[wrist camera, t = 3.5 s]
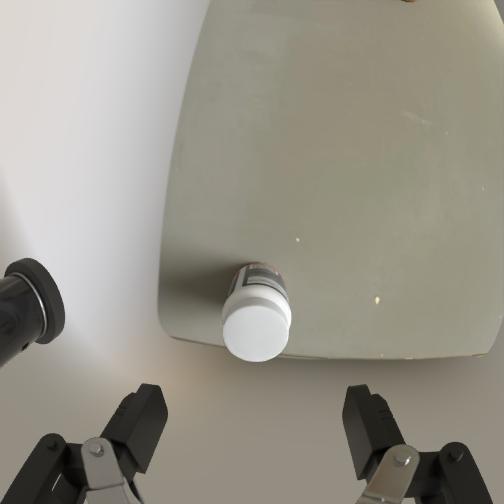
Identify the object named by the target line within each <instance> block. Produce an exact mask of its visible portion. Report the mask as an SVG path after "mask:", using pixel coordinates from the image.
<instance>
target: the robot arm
mask: <svg viewBox="0 0 504 504" xmlns="http://www.w3.org/2000/svg"><path fill="white" fill-rule="evenodd" d="M48 324H49V320H48V313H47V308H46V305H45V302H44V300H43V297H42V295H41V293H40V291H39V290H38V288H37V286H36V285H35V284H34V282H33V281H32V280H31V279H30V278H29V277H28V276H27V275H26V274H24V273H22V272H14V273H12V274H10V275H9V276H7V277H5V278H3V279H0V369H1V368H2V367H3V366H4V365H5V364H7V363H8V362H9V361H10V360H11V359H13V358H14V357H15V356H16V355H18V354H19V353H20V352H21V351H23V350H24V349H25V348H27V347H28V346H29V345H30V344H32V343H33V342H34V341H36V340H37V339H38V338H41V337H42V336H43V335H45V334H46V332H47V330H48ZM342 417H343V418H342V419H343V425H344V428H345V432H346V436H347V440H348V444H349V448H350V452H351V456H352V459H353V463H354V468H355V472H356V476H357V480H362V479H366V481H367V486H366V488H365V489H364V491H363V493H362V494H361V496H360V497H359V499H358V500H357V502H356V503H355V504H401V502H402V500H403V498H412V497H414V499H415V502H416V504H493V502H492V500H491V497H490V495H489V492H488V490H487V487H486V485H485V483H484V481H483V478H482V476H481V474H480V472H479V469H478V467H477V465H476V463H475V461H474V459H473V457H472V455H471V453H470V451H469V449H468V448H467V446H466V445H464V444H462V443H460V442H451V443H448V444H446V445H445V446H444V447H443V448H442V449H441V450H440V451H438V452H418V451H417V450H416V449H415V448H413V447H412V446H409V445H406V443H405V441H404V439H403V437H402V435H401V433H400V430H399V428H398V426H397V424H396V421H395V419H394V418H393V415H392V413H391V411H390V408H389V406H388V404H387V402H386V400H384V399H383V398H382V397H381V396H380V395H379V394H373V395H371V393H370V391H369V389H368V387H367V385H366V384H363V385H356V386H349V387H348V389H347V393H346V398H345V402H344V407H343V413H342ZM167 418H168V410H167V406H166V403H165V400H164V397H163V394H162V391H161V388H160V386H158V385H151V384H141V386H140V387H139V389H138V391H137V392H136V393H133V392H132V393H131V394H129V395H128V396H126V397H125V398H124V399H123V400H122V402H121V404H120V405H119V408H117V410H116V412H115V414H114V415H113V416H112V418H111V419H110V421H109V422H108V424H107V426H106V427H105V429H104V431H103V432H102V434H101V435H100V437H94V438H91V439H89V440H87V441H85V442H84V444H75V443H66V441H65V440H64V439H63V437H62V436H60V435H59V434H55V433H51V434H47V435H45V436H43V437H42V438H41V439H40V441H39V442H38V444H37V445H36V447H35V448H34V450H33V451H32V453H31V454H30V456H29V457H28V459H27V461H26V462H25V463H24V465H23V467H22V468H21V470H20V471H19V473H18V474H17V476H16V478H15V479H14V481H13V483H12V484H11V486H10V488H9V489H8V491H7V493H6V494H5V496H4V498H3V500H2V501H1V503H0V504H83V503H84V501H85V498H87V501H88V504H146V502H145V500H144V498H143V496H142V494H141V492H140V489H139V487H138V485H137V483H136V480H135V479H134V475H135V473H136V472H139V473H143V474H145V473H146V471H147V468H148V466H149V463H150V461H151V458H152V456H153V454H154V451H155V448H156V446H157V444H158V441H159V439H160V436H161V434H162V432H163V429H164V427H165V424H166V422H167ZM60 474H61V476H60V478H59V480H58V481H57V483H56V485H55V487H54V489H53V491H52V488H53V486H54V484H55V482H56V480H57V478H58V476H59V475H60Z"/></svg>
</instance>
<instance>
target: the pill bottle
mask: <svg viewBox="0 0 504 504" xmlns="http://www.w3.org/2000/svg"><path fill="white" fill-rule="evenodd" d="M222 323H223V327H222V337H223V341H224V343H225V345H226V347H227V348H228V349H229V351H230V352H231V353H232V354H234V355H235V356H237V357H239V358H241V359H243V360H247V361H253V362H258V361H259V362H260V361H265V360H268V359H271V358H273V357H275V356H276V355H278V354H279V353H280V352H281V351H282V350H283V349H284V347H285V345H286V344H287V341H288V336H289V331H288V330H289V327H290V324H291V310H290V305H289V300H288V296H287V291H286V286H285V282H284V280H283V277H282V276H281V274H280V273H279V272H278V271H277V270H276V269H275V268H273V267H272V266H269V265H267V264H263V263H254V264H250V265H247V266H245V267H243V268H242V269H240V270H239V271H238V272H237V273H236V275H235V276H234V278H233V280H232V283H231V286H230V289H229V291H228V294H227V297H226V300H225V303H224V306H223V310H222Z"/></svg>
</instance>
